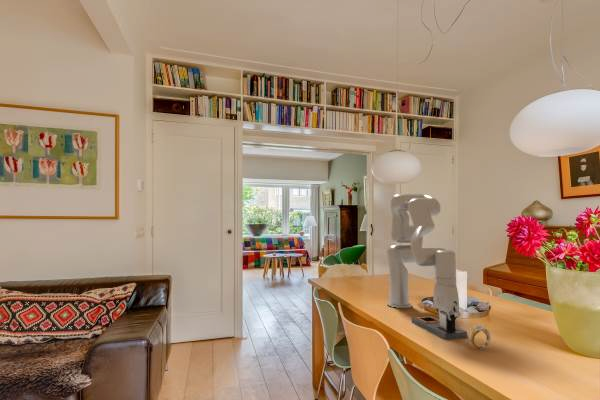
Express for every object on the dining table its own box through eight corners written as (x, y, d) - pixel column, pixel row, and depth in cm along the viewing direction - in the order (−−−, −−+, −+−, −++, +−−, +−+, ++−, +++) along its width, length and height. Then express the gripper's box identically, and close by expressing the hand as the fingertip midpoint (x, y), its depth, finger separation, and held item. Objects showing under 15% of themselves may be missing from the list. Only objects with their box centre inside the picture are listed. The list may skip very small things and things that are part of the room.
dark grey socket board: (411, 322, 147) (411, 316, 147) (431, 320, 149) (431, 315, 149) (444, 339, 126) (444, 333, 126) (467, 337, 128) (467, 331, 128)
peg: (439, 332, 133) (439, 312, 133) (448, 332, 134) (447, 311, 134) (446, 336, 129) (445, 315, 130) (455, 335, 130) (454, 314, 131)
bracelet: (487, 347, 118) (486, 323, 119) (493, 350, 115) (492, 326, 115) (468, 347, 118) (467, 324, 118) (473, 351, 115) (472, 327, 115)
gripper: (424, 278, 140) (426, 323, 139) (452, 286, 124) (453, 336, 123) (440, 277, 142) (441, 321, 141) (469, 284, 126) (471, 334, 124)
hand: (447, 328), depth 132 cm, fingers closed on peg, 4 cm apart
